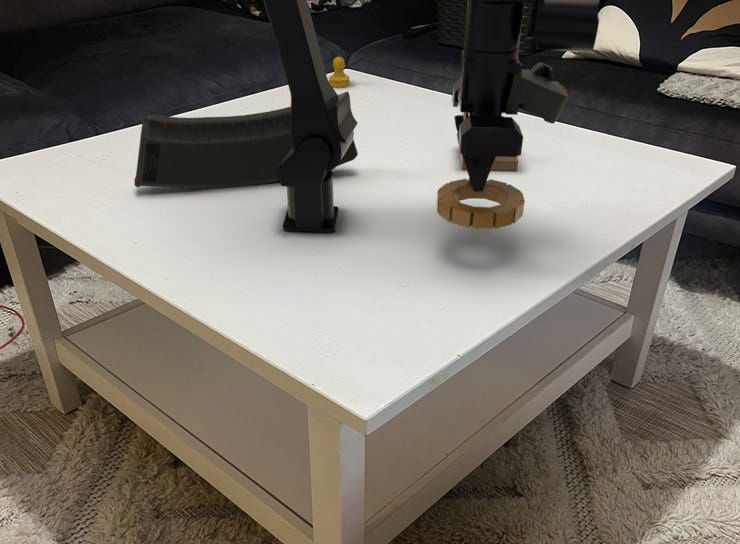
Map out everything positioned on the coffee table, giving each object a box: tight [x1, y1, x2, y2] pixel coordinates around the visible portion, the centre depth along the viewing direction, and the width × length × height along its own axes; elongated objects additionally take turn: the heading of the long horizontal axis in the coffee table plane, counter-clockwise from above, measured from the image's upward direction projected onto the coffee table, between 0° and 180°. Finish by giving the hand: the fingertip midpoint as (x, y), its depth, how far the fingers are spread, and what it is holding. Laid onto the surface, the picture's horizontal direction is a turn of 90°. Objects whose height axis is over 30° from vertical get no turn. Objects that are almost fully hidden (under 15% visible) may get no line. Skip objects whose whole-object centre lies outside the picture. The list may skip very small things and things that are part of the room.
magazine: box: [134, 106, 359, 189], centre depth 99 cm, size 17×3×30 cm
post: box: [458, 149, 519, 172], centre depth 108 cm, size 8×8×6 cm
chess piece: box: [328, 56, 350, 88], centre depth 139 cm, size 4×4×5 cm
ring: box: [436, 177, 526, 230], centre depth 83 cm, size 10×10×2 cm
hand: (477, 187), depth 86 cm, fingers closed on ring, 2 cm apart
